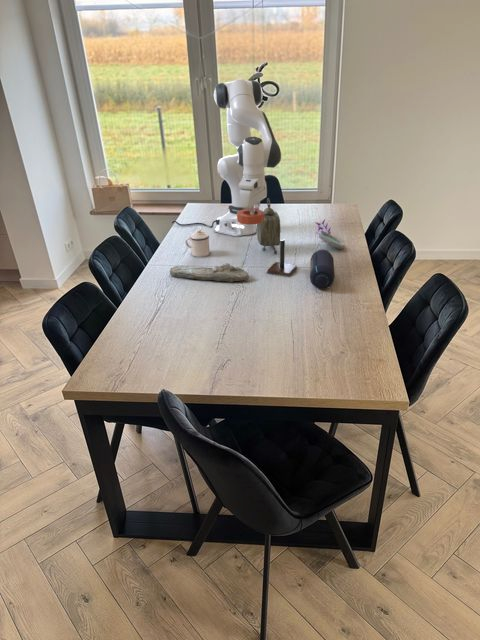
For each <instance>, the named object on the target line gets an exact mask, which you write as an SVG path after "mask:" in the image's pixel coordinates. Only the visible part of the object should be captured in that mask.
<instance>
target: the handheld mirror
mask: <svg viewBox="0 0 480 640" xmlns="http://www.w3.org/2000/svg"><path fill="white" fill-rule="evenodd" d="M325 222H326V219H324V220H323V221H322V222H319V223H318V222H317V221H316V222H314V224H316V225H317V227H318V230H317V233H318V237H319V239H320V240H321V241H322V242H324V243H326V244H327V245H329V246H331V247H333V248H334V249H337V250H341V249H344V243H343V242H342V241H341V240H340V239H339V238H338V237H335V236H334V235H332V234H331V228H332V226H330V227H329V228H328V225H329V222H327V223H326V224H325Z"/></svg>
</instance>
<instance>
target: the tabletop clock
mask: <svg viewBox="0 0 480 640" xmlns="http://www.w3.org/2000/svg"><path fill="white" fill-rule="evenodd" d="M266 198H267V199H266V205H267V207H266V208H265V209H264V210H263V212H264V221H263V222H262V223H258V224H256V229H257V231H256V238H257V241H258V244H259V245H260V246H262V251H264V252H265V251H266V250H267V248H266V247H271V248H272V249H273V253H274V254H275V255H277V254H278V250H276V248H275V246H276V247H277V246H280V240H281V219H280V218H281V217H280V216H279V214H278V212H277V211H275V210H274V208H271V200H270V199H271V198H269V197H266Z"/></svg>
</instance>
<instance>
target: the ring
mask: <svg viewBox="0 0 480 640" xmlns="http://www.w3.org/2000/svg"><path fill="white" fill-rule="evenodd" d="M254 210H255V214H254V215H250V210H249V209H243V210H240V211H238V212H237V221H238V222H239V223H242V224H255V225H257V224H258V223H262V222H263V221H264V210H262V209H260V208H259V209H254Z"/></svg>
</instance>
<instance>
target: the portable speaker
mask: <svg viewBox="0 0 480 640" xmlns="http://www.w3.org/2000/svg"><path fill="white" fill-rule="evenodd" d="M309 262H310V265H309V277H310V278H309V279H310V283H311V284H312V286H314V287H315V288H316V289H319V290H325V289H329V288H331V286H332V285H333V284H334V281H335V278H336V276H335V275H336V274H335V263H334V256H333V255H332V253H331V252H330V251H329V250H327V249H324V248H323V249H318V250H316V251H314V252H313V253H312V255H311V257H310V261H309Z"/></svg>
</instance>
